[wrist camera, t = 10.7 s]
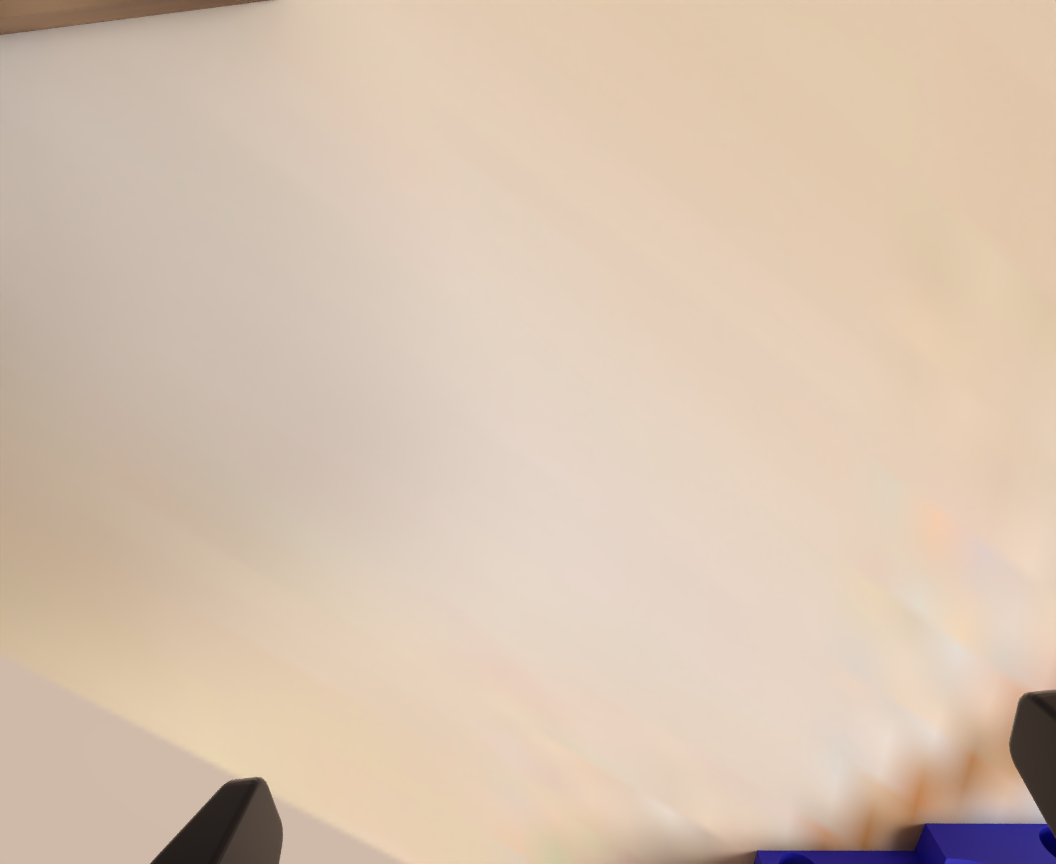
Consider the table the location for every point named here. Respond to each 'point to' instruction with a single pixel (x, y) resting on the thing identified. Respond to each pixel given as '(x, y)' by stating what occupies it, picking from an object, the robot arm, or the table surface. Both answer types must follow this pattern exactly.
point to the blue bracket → (944, 848)
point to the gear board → (90, 11)
